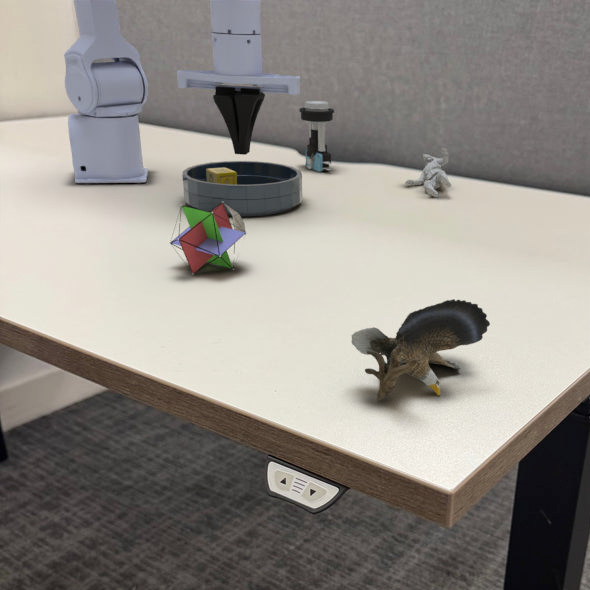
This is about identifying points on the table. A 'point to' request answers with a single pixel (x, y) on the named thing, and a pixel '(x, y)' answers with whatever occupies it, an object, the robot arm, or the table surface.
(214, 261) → the geometric puzzle
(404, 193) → the table surface
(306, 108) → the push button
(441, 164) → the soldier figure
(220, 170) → the alphabet block
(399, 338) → the eagle figurine
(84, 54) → the robot arm
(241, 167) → the bowl
